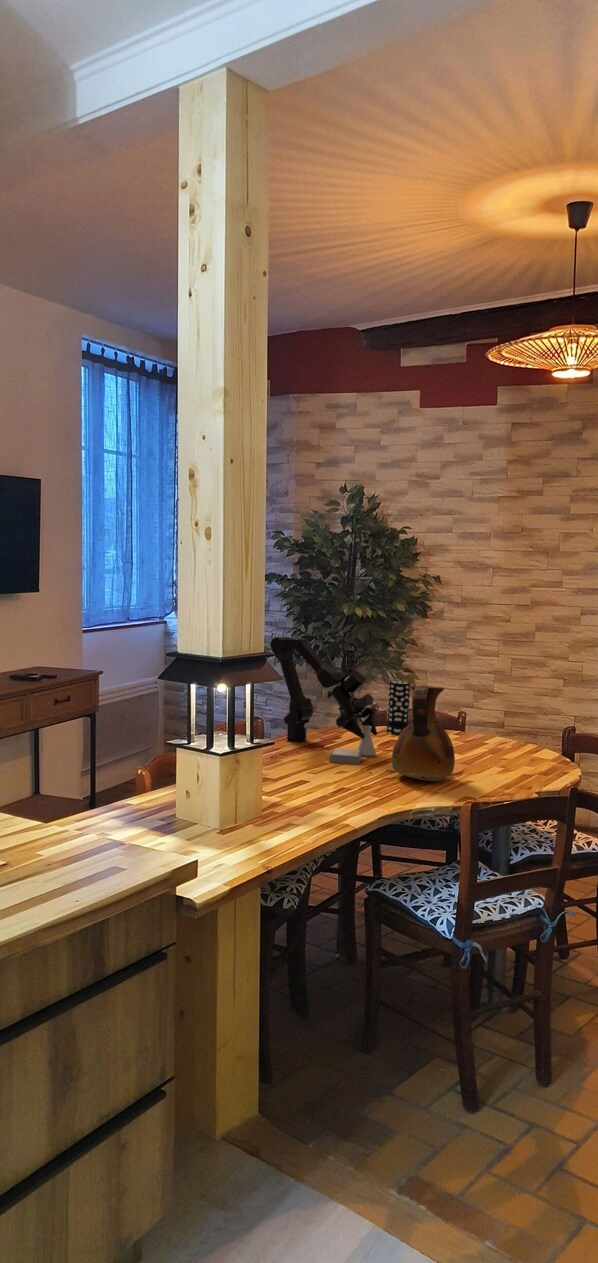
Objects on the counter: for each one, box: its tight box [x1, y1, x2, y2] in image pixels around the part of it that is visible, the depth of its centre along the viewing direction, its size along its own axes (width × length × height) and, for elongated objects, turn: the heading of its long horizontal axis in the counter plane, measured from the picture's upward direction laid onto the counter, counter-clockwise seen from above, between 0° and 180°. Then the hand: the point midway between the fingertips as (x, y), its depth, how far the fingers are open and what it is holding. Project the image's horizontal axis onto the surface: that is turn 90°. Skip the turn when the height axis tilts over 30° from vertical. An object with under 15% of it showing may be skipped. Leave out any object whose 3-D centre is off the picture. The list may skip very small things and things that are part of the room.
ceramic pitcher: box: [391, 684, 456, 782], centre depth 291 cm, size 20×20×30 cm
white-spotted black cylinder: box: [385, 680, 412, 736], centre depth 363 cm, size 8×8×20 cm
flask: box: [356, 725, 377, 757], centre depth 323 cm, size 7×7×10 cm
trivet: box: [329, 748, 363, 765], centre depth 314 cm, size 10×10×3 cm
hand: (370, 736), depth 322 cm, fingers open, 8 cm apart
